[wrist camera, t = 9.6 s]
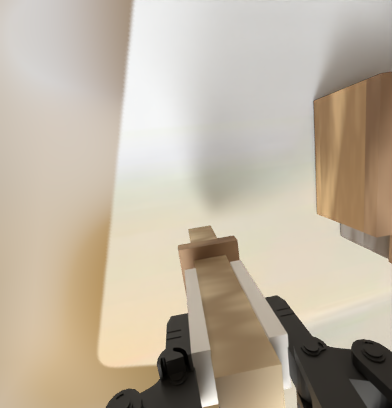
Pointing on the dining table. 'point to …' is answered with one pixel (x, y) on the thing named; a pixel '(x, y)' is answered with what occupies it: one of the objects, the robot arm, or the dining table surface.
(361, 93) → the toolbox
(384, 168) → the lid
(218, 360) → the key peg
